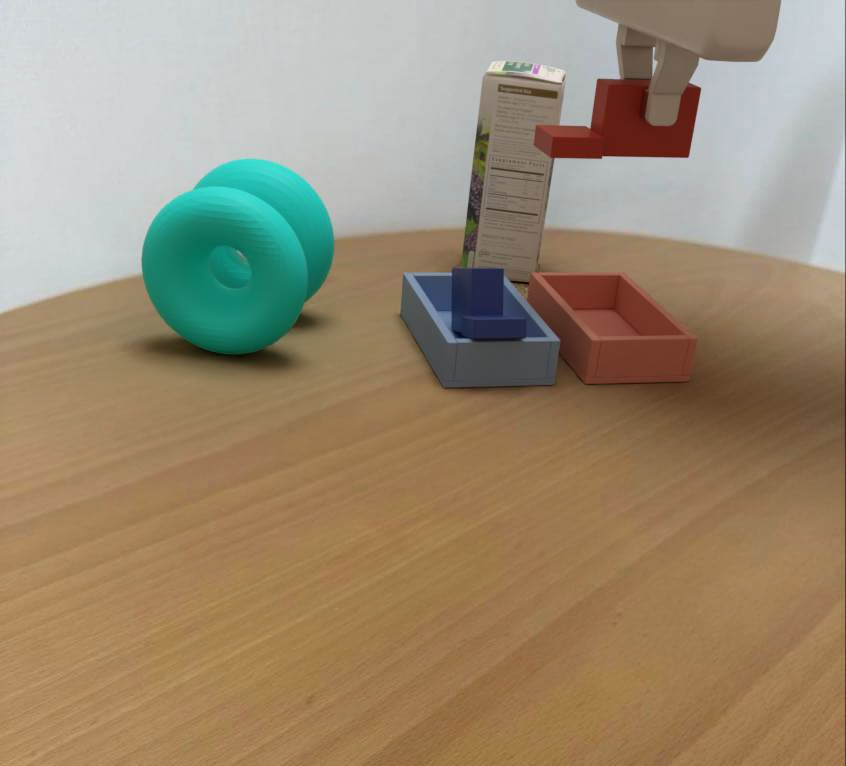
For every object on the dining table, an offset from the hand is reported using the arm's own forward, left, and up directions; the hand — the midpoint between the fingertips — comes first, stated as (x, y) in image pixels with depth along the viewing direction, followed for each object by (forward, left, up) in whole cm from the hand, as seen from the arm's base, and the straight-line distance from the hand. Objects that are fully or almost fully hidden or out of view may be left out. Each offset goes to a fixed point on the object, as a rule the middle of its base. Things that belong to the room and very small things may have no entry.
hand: (644, 116), depth 68 cm
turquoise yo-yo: (+23, -4, -15) cm, 28 cm away
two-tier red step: (+2, 0, -2) cm, 3 cm away
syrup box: (+2, -16, -15) cm, 22 cm away
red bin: (0, -1, -15) cm, 15 cm away
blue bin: (+9, -1, -15) cm, 17 cm away
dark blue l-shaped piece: (+9, +1, -13) cm, 16 cm away
